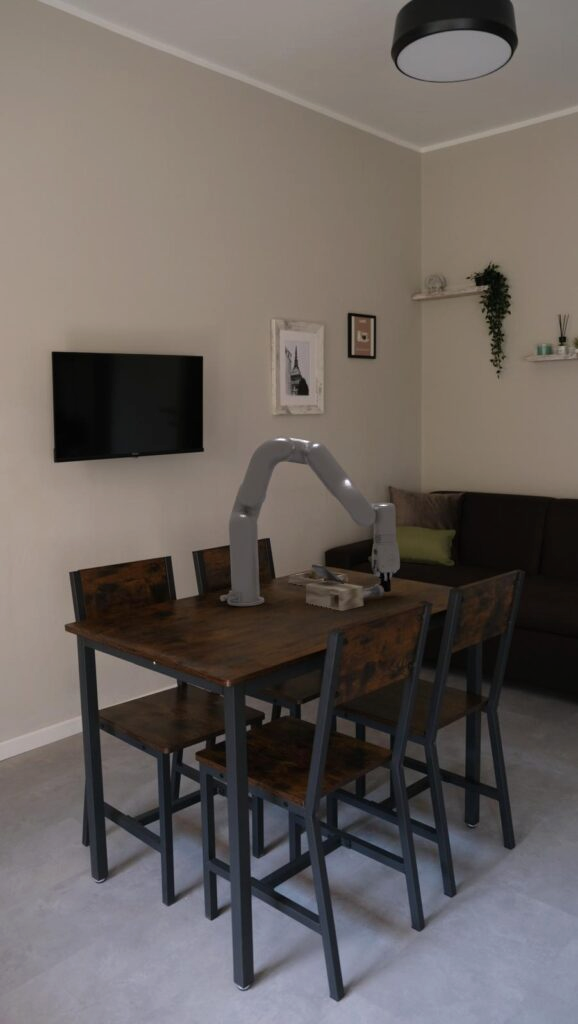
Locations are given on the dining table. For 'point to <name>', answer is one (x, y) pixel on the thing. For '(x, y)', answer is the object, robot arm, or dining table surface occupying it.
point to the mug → (315, 574)
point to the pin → (373, 591)
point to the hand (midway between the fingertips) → (385, 591)
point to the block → (334, 595)
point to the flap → (326, 573)
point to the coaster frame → (304, 579)
